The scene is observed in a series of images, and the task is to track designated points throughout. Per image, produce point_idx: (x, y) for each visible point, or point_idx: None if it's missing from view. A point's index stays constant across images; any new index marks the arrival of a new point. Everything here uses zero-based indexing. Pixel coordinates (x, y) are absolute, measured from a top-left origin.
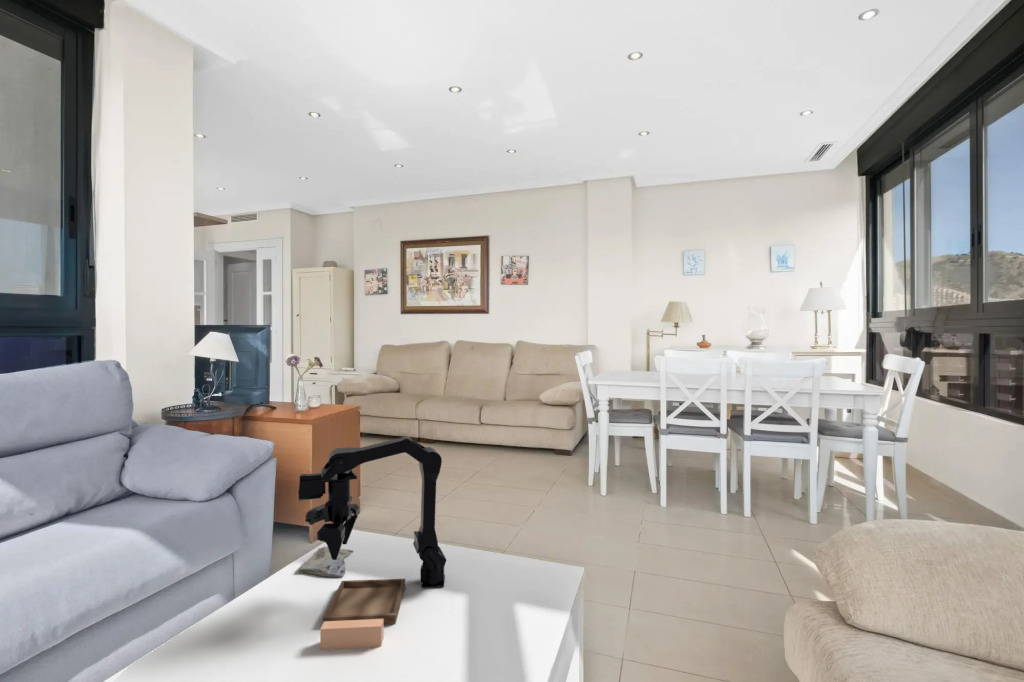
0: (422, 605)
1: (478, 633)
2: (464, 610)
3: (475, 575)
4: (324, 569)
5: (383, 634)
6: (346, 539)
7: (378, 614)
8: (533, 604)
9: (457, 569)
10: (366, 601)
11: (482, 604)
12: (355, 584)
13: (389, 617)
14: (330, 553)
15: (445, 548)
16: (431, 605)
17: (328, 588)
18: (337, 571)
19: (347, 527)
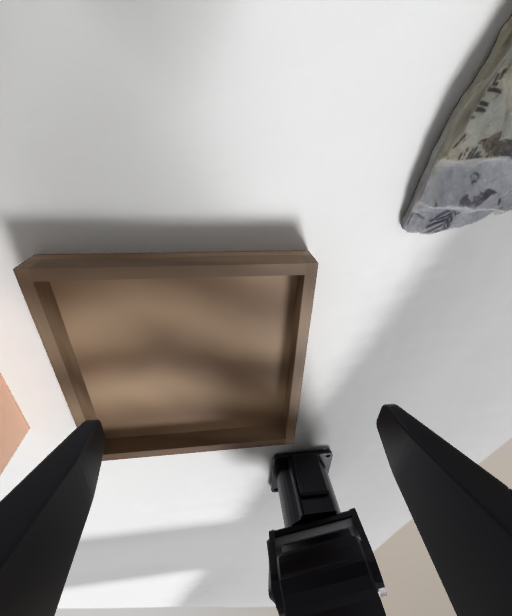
0: (192, 467)
1: (95, 548)
2: (173, 525)
3: None
4: (478, 132)
5: (23, 437)
6: (395, 463)
7: None
8: (197, 584)
9: (349, 494)
10: (195, 360)
11: (197, 541)
12: (296, 311)
13: None
14: (21, 482)
15: None
16: (192, 480)
17: (324, 191)
18: (442, 202)
19: (487, 609)
